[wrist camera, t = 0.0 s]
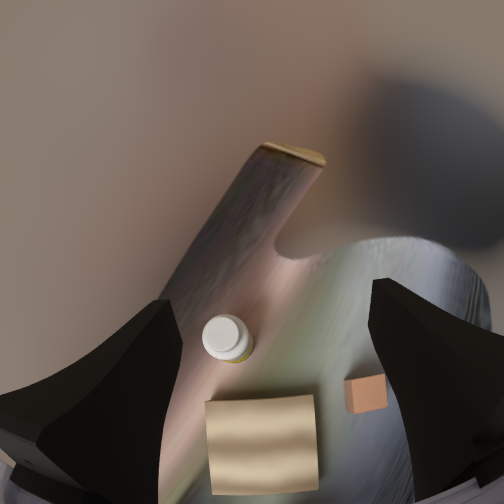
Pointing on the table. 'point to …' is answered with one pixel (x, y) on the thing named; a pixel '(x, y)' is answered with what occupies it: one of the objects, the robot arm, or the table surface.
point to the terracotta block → (365, 393)
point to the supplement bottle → (228, 339)
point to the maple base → (262, 445)
